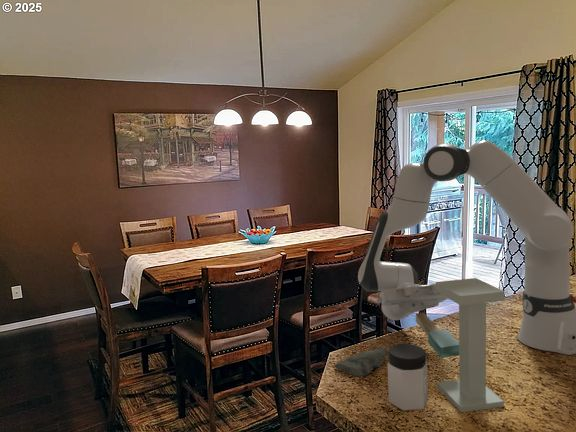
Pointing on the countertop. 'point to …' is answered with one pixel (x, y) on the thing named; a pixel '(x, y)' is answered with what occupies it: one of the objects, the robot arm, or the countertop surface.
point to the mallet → (438, 337)
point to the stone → (363, 362)
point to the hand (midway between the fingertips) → (425, 287)
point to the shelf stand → (471, 344)
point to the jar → (407, 377)
